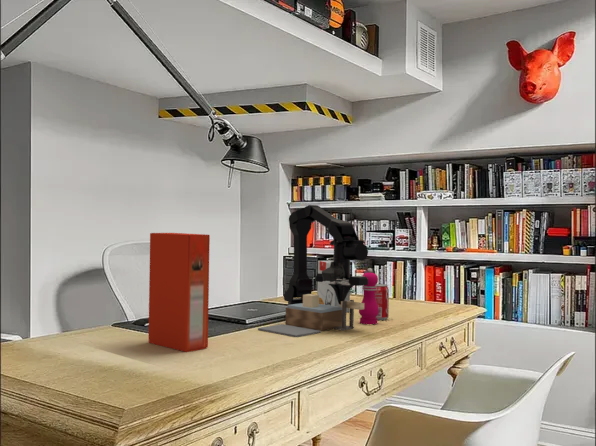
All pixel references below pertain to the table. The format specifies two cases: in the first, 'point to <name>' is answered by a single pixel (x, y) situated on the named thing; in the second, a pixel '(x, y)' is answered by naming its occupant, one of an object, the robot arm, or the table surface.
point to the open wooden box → (320, 319)
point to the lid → (313, 305)
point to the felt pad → (289, 330)
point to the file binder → (179, 290)
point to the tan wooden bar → (354, 305)
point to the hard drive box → (328, 288)
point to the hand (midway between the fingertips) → (340, 304)
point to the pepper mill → (369, 300)
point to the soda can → (382, 301)
